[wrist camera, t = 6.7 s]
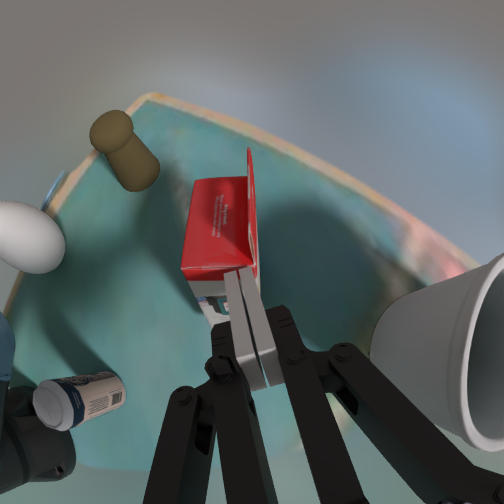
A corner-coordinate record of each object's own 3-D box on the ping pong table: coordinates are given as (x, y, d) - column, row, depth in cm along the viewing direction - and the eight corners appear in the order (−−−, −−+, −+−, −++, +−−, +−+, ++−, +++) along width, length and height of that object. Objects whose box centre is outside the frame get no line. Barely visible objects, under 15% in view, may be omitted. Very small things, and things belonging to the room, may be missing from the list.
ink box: (214, 259, 31) (185, 147, 19) (259, 257, 31) (252, 142, 19) (211, 332, 26) (163, 239, 14) (262, 331, 26) (257, 233, 14)
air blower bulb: (86, 235, 33) (-7, 170, 15) (65, 290, 31) (-40, 252, 14) (52, 222, 34) (-30, 164, 16) (33, 270, 32) (-58, 230, 14)
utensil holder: (430, 423, 24) (524, 460, 8) (338, 383, 27) (420, 433, 10) (474, 319, 28) (573, 298, 11) (394, 268, 30) (492, 208, 13)
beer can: (111, 363, 28) (45, 371, 17) (135, 396, 27) (75, 420, 16) (88, 383, 27) (23, 395, 16) (110, 414, 26) (50, 440, 15)
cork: (163, 182, 34) (131, 129, 24) (122, 198, 34) (80, 153, 23) (156, 148, 36) (128, 94, 25) (118, 164, 36) (83, 116, 25)
